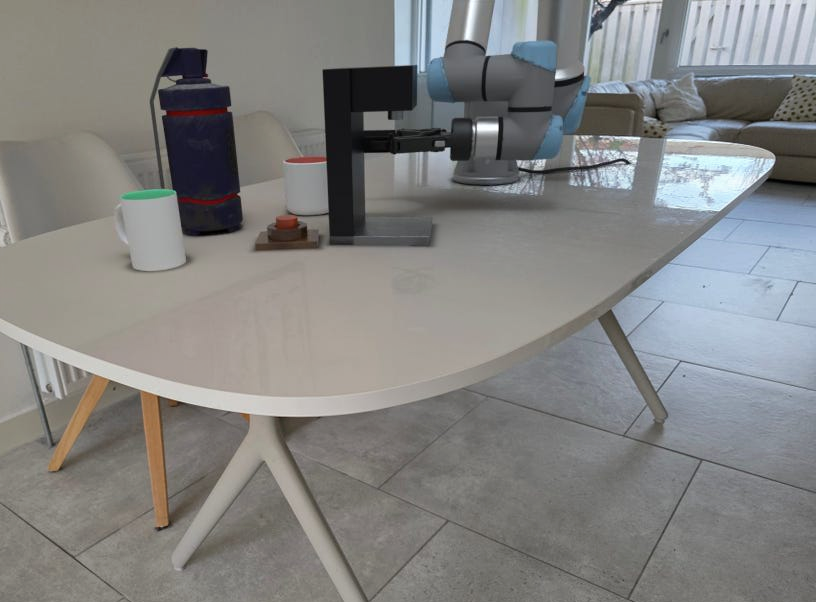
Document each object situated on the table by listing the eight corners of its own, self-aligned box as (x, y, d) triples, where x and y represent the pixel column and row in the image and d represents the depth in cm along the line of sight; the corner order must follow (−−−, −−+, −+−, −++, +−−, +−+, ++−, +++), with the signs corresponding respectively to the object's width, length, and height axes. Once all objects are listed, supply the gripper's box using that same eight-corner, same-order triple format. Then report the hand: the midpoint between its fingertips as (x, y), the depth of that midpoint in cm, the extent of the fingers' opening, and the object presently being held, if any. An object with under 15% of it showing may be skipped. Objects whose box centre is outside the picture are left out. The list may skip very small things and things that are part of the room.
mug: (102, 264, 96) (88, 196, 91) (140, 251, 102) (129, 186, 98) (160, 273, 90) (148, 201, 86) (197, 258, 97) (187, 190, 92)
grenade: (238, 218, 121) (220, 47, 108) (248, 232, 111) (230, 44, 98) (166, 226, 118) (138, 50, 105) (169, 241, 107) (139, 47, 94)
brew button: (298, 224, 104) (298, 214, 103) (297, 230, 100) (296, 219, 100) (277, 225, 104) (276, 215, 103) (275, 230, 100) (274, 220, 100)
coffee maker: (432, 225, 111) (436, 63, 99) (428, 245, 98) (433, 64, 87) (343, 224, 113) (338, 68, 102) (329, 245, 101) (322, 69, 90)
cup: (335, 216, 120) (333, 162, 116) (284, 217, 120) (280, 164, 116) (336, 205, 129) (334, 155, 125) (289, 207, 129) (285, 157, 125)
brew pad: (319, 236, 107) (318, 218, 105) (317, 248, 99) (316, 230, 98) (261, 238, 107) (259, 220, 106) (255, 250, 100) (253, 232, 98)
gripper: (472, 170, 104) (347, 171, 108) (469, 152, 126) (366, 154, 130) (475, 122, 101) (346, 125, 104) (472, 113, 123) (366, 115, 127)
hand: (357, 141), depth 117 cm, fingers open, 13 cm apart
